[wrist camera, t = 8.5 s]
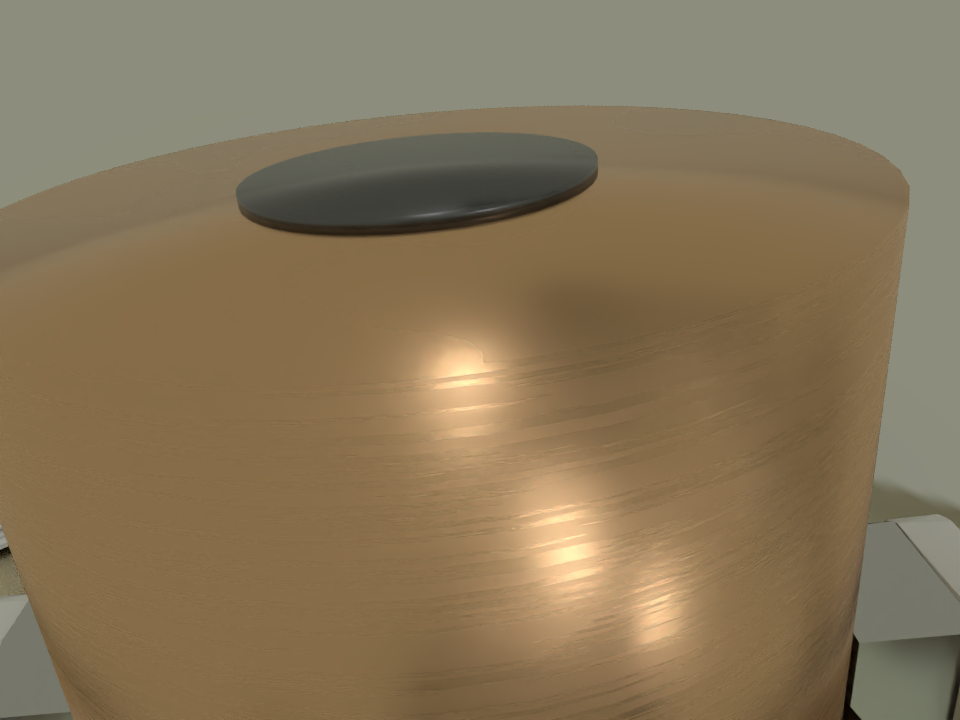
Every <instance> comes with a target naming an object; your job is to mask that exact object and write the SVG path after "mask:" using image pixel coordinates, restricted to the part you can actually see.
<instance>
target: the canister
mask: <svg viewBox="0 0 960 720" xmlns="http://www.w3.org/2000/svg"><path fill="white" fill-rule="evenodd" d="M908 210H909V185H908V183H907V181H906V180H905V178H904V176H903V175H902V173H901V171H900V170H899V169H898V168H897V167H896V166H895V165H893V164H892V163H891V162H890V161H889V160H887V159H886V158H885V157H884V156H882V155H880V154H878V153H877V152H875V151H873V150H871V149H869V148H867V147H865V146H863V145H861V144H859V143H856V142H854V141H851V140H848V139H845V138H843V137H840V136H837V135H835V134H831V133H827V132H824V131H820V130H817V129H813V128H809V127H805V126H801V125H797V124H791V123H786V122H781V121H776V120H771V119H765V118H758V117H752V116H745V115H738V114H730V113H720V112H710V111H700V110H687V109H673V108H657V107H632V106H535V107H534V106H533V107H505V108H487V109H469V110H455V111H442V112H429V113H418V114H408V115H398V116H388V117H379V118H371V119H362V120H354V121H345V122H338V123H331V124H324V125H317V126H310V127H303V128H297V129H291V130H284V131H279V132H272V133H266V134H261V135H255V136H250V137H245V138H239V139H234V140H228V141H224V142H219V143H214V144H209V145H204V146H200V147H195V148H190V149H186V150H182V151H178V152H173V153H169V154H165V155H161V156H156V157H152V158H149V159H145V160H141V161H137V162H134V163H130V164H126V165H122V166H119V167H115V168H112V169H108V170H105V171H102V172H99V173H96V174H92V175H89V176H86V177H82V178H79V179H76V180H73V181H70V182H68V183H65V184H62V185H59V186H56V187H54V188H51V189H48V190H45V191H42V192H40V193H37V194H35V195H32V196H30V197H28V198H25V199H23V200H20V201H18V202H16V203H13V204H11V205H9V206H6V207H4V208H2V209H0V524H1V527H2V530H3V532H4V535H5V538H6V540H7V543H8V546H9V548H10V551H11V554H12V556H13V559H14V562H15V564H16V567H17V570H18V572H19V575H20V578H21V581H22V583H23V586H24V589H25V591H26V594H27V597H28V599H29V602H30V605H31V607H32V610H33V613H34V615H35V618H36V621H37V623H38V626H39V629H40V631H41V634H42V637H43V639H44V642H45V645H46V647H47V650H48V653H49V655H50V658H51V661H52V663H53V666H54V669H55V671H56V674H57V677H58V679H59V682H60V685H61V687H62V690H63V693H64V695H65V698H66V701H67V703H68V706H69V709H70V712H71V714H72V717H73V720H842V716H843V709H844V701H845V693H846V686H847V678H848V670H849V663H850V655H851V647H852V640H853V632H854V624H855V617H856V609H857V601H858V594H859V586H860V578H861V571H862V563H863V555H864V548H865V540H866V532H867V525H868V517H869V509H870V502H871V494H872V486H873V479H874V471H875V463H876V456H877V448H878V441H879V432H880V425H881V417H882V410H883V402H884V395H885V386H886V379H887V372H888V364H889V356H890V348H891V341H892V333H893V326H894V318H895V310H896V303H897V294H898V287H899V280H900V272H901V264H902V257H903V249H904V241H905V233H906V226H907V218H908Z"/></svg>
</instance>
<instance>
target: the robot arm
mask: <svg viewBox="0 0 960 720" xmlns="http://www.w3.org/2000/svg"><path fill="white" fill-rule="evenodd" d="M0 720H73V717H72V714H71V712H70V709H69V706H68V703H67V701H66V698H65V695H64V693H63V690H62V687H61V685H60V682H59V679H58V677H57V674H56V671H55V669H54V666H53V663H52V661H51V658H50V655H49V653H48V650H47V647H46V645H45V642H44V639H43V637H42V634H41V631H40V629H39V626H38V623H37V621H36V618H35V615H34V613H33V610H32V607H31V605H30V602H29V599H28V597H27V594H22V595H9V596H0ZM842 720H960V529H959V528H958V527H957V526H956V525H955V524H954V523H953V522H952V521H951V520H950V519H948V518H946V517H944V516H941V515H939V514H933V515H924V516H915V517H907V518H898V519H889V520H885V521H884V522H877V523H868V525H867V532H866V540H865V548H864V555H863V563H862V571H861V578H860V586H859V594H858V601H857V609H856V617H855V624H854V632H853V640H852V647H851V655H850V663H849V670H848V678H847V686H846V693H845V701H844V709H843V716H842Z"/></svg>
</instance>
